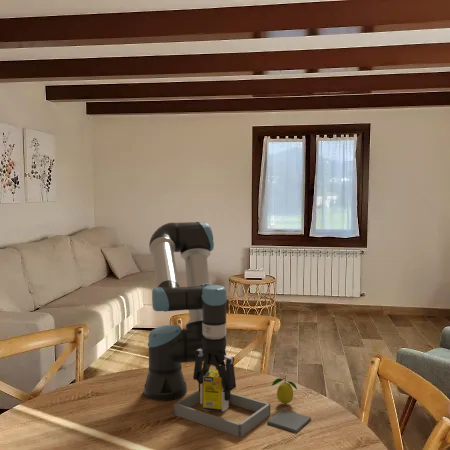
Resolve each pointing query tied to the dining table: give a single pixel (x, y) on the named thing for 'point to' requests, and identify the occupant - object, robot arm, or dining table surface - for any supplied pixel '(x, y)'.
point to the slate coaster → (289, 420)
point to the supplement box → (212, 390)
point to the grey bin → (220, 423)
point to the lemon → (284, 391)
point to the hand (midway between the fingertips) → (214, 405)
